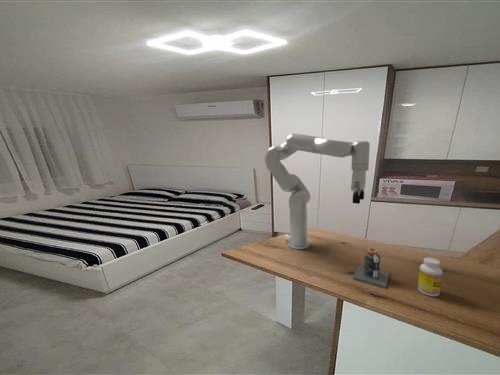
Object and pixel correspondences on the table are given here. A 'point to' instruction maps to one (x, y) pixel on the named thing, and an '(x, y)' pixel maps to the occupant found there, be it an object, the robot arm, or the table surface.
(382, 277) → the plate
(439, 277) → the supplement bottle
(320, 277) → the table surface
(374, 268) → the pill bottle
